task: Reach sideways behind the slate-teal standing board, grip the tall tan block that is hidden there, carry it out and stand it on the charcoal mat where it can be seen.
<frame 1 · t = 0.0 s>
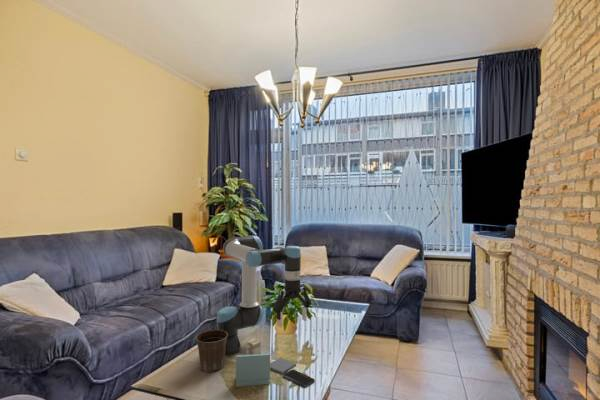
hand: (292, 323, 164), 28 cm above the table, tool pointing down, fingers open, 13 cm apart
phone: (298, 379, 166), on the table
charcoal mat: (281, 366, 178), on the table
tall tan block: (253, 368, 176), on the table
plant pot: (212, 366, 178), on the table
standing board: (253, 382, 163), on the table
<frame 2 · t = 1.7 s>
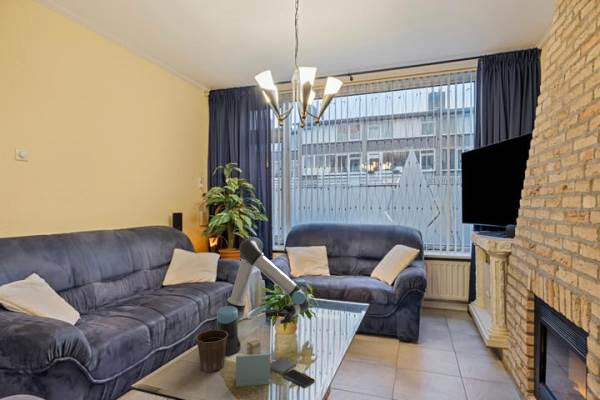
hand: (266, 321, 183), 22 cm above the table, tool horizontal, fingers open, 13 cm apart
nothing on the table moved.
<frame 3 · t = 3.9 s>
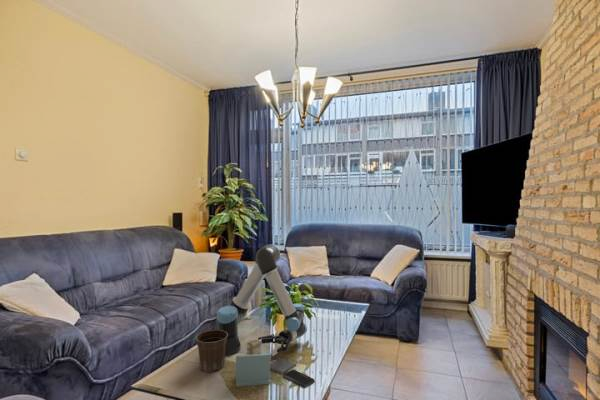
hand: (262, 349, 180), 8 cm above the table, tool horizontal, fingers open, 13 cm apart
nothing on the table moved.
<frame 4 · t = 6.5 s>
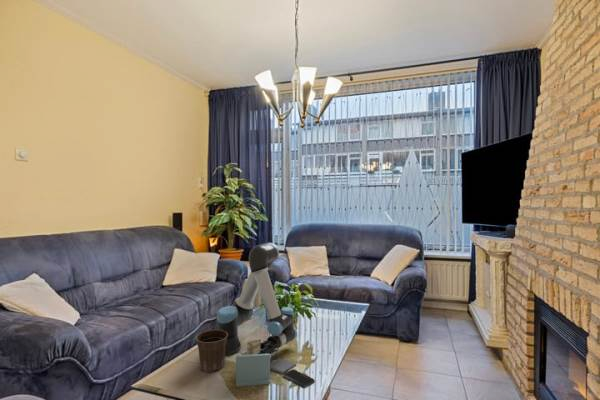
hand: (246, 356, 172), 8 cm above the table, tool horizontal, fingers closed on tall tan block, 5 cm apart
tall tan block: (253, 368, 176), on the table, touching gripper
everything else where it was.
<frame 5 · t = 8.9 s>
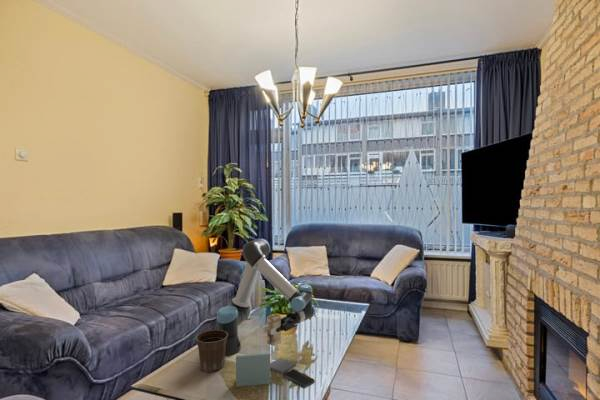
hand: (267, 330, 173), 21 cm above the table, tool horizontal, fingers closed on tall tan block, 5 cm apart
tall tan block: (274, 343, 177), point 13 cm above the table, touching gripper
everything else where it was.
when the fingers open (10 cm above the table, at t = 11.3 s): tall tan block drops 1 cm, resting on charcoal mat.
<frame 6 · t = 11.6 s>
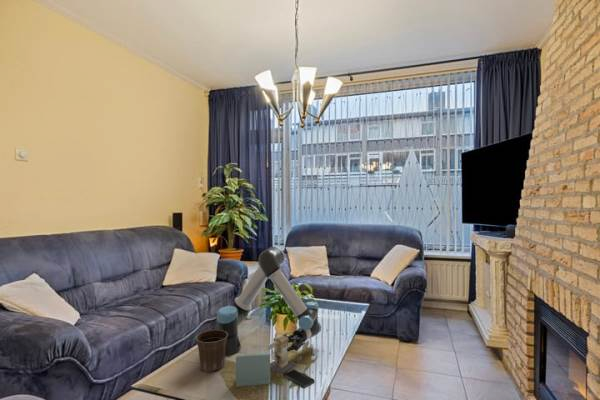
hand: (275, 349, 174), 10 cm above the table, tool horizontal, fingers open, 8 cm apart
tall tan block: (281, 364, 178), point 1 cm above the table, touching charcoal mat
everything else where it was.
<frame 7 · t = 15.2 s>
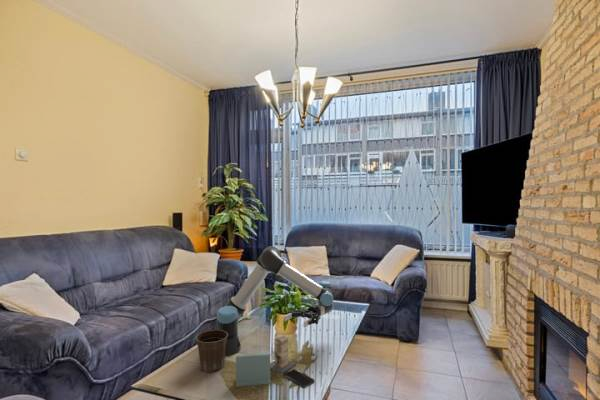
hand: (293, 321, 186), 21 cm above the table, tool horizontal, fingers open, 13 cm apart
nothing on the table moved.
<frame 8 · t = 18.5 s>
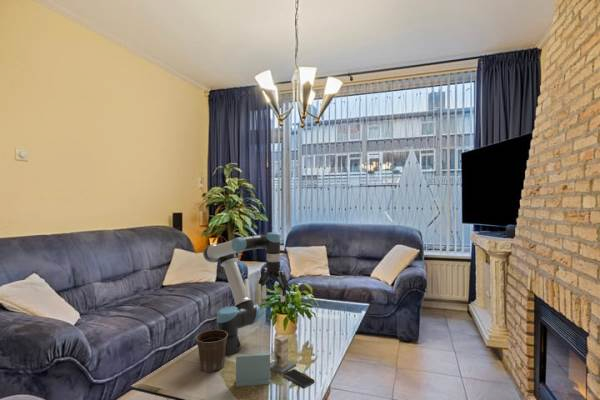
hand: (273, 299, 189), 32 cm above the table, tool pointing down, fingers open, 13 cm apart
nothing on the table moved.
at the end: tall tan block inside the target area on the charcoal mat (0.0 cm from its centre), point 1.0 cm above the charcoal mat's base; tall tan block tilted 0°; the gripper is holding nothing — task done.
